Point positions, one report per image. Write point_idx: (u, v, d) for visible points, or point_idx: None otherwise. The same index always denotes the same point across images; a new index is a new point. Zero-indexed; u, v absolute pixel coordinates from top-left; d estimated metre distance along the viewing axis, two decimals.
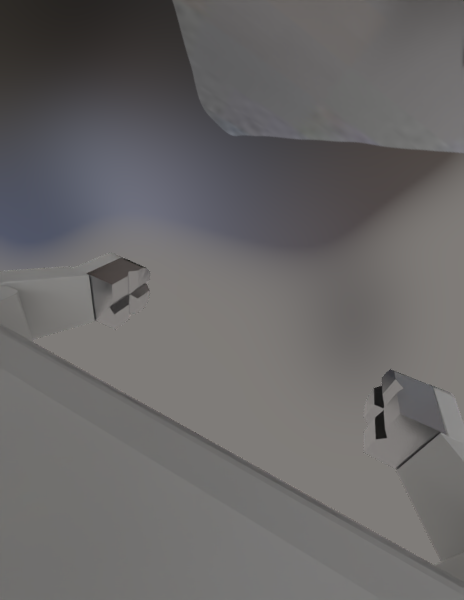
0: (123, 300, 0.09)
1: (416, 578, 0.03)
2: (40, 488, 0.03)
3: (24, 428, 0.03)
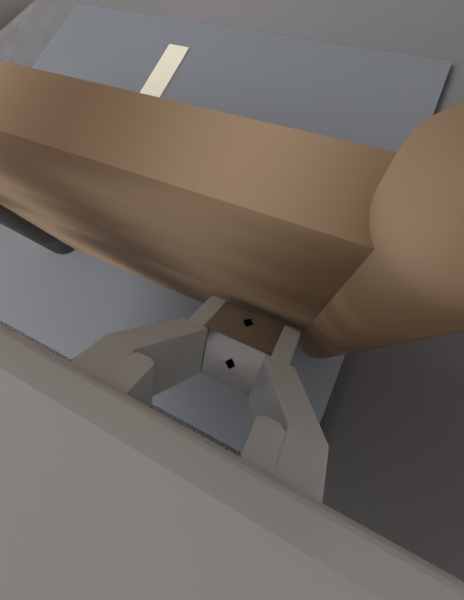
0: None
1: (416, 578, 0.03)
2: (40, 488, 0.03)
3: (24, 428, 0.03)
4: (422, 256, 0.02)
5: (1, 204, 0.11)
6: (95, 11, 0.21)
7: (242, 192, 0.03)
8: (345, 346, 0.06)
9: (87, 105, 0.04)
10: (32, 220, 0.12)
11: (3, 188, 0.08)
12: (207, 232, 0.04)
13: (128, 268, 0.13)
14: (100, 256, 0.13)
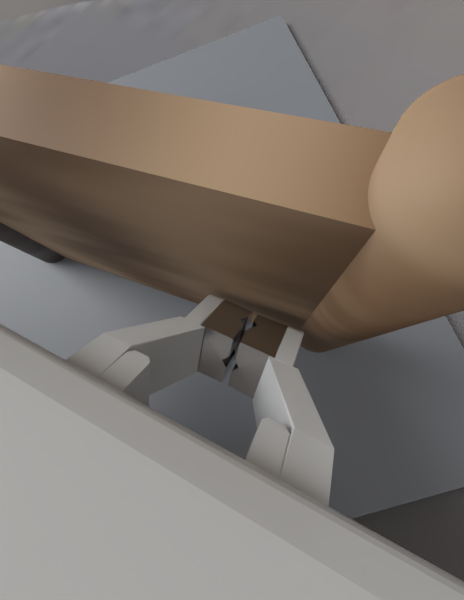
0: None
1: (415, 577, 0.03)
2: (39, 489, 0.03)
3: (24, 428, 0.03)
4: (427, 231, 0.02)
5: None
6: (285, 39, 0.17)
7: (237, 181, 0.03)
8: (346, 336, 0.06)
9: (71, 101, 0.04)
10: (19, 229, 0.11)
11: None
12: (201, 227, 0.04)
13: (121, 273, 0.13)
14: (91, 262, 0.13)
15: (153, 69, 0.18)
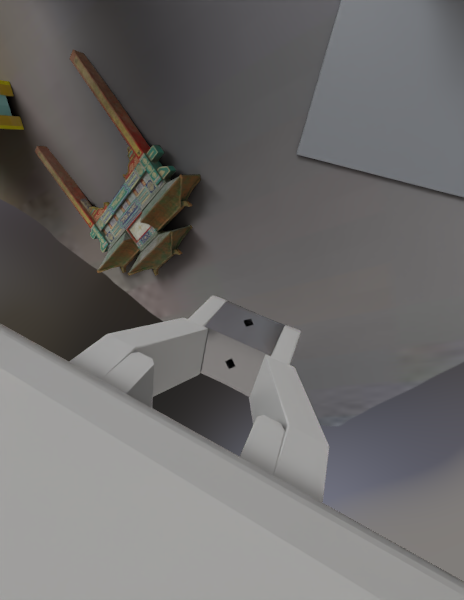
0: None
1: (415, 577, 0.03)
2: (39, 488, 0.03)
3: (24, 428, 0.03)
4: None
5: None
6: None
7: None
8: None
9: None
10: None
11: None
12: None
13: None
14: None
15: None
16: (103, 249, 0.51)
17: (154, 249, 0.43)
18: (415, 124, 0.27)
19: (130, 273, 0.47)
